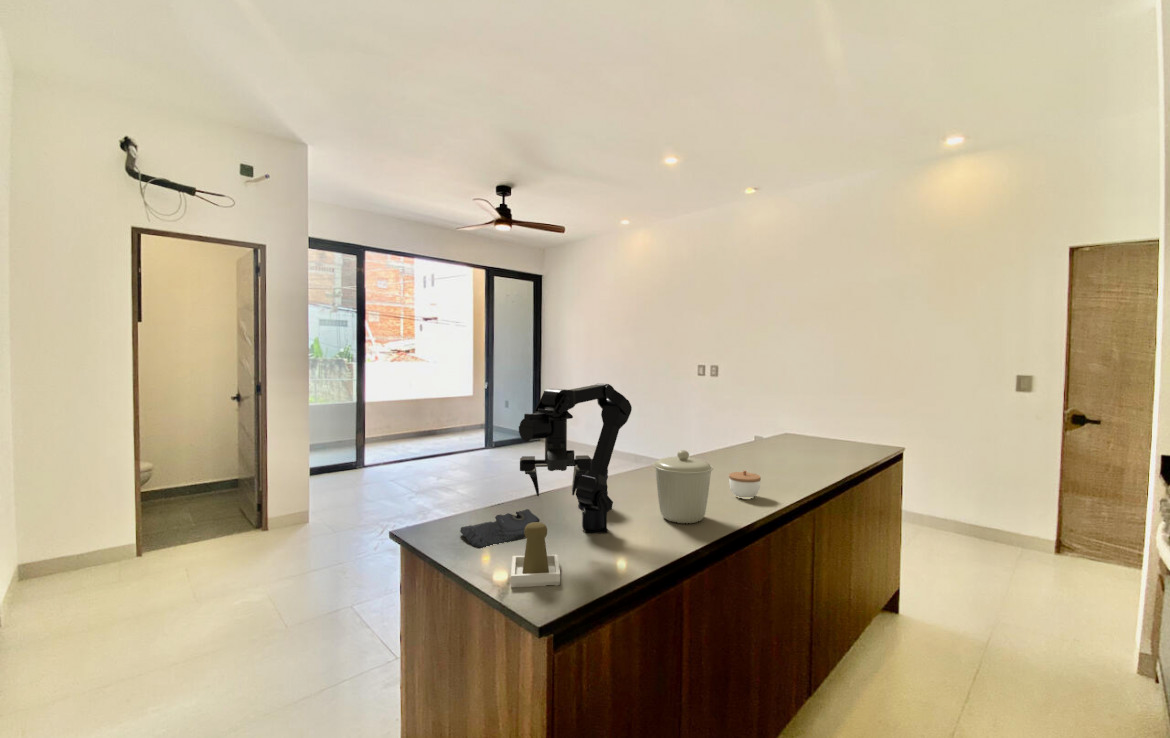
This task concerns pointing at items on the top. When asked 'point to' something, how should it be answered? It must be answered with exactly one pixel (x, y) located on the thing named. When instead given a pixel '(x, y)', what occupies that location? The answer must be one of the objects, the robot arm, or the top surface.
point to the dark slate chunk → (499, 529)
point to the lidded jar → (744, 484)
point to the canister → (683, 487)
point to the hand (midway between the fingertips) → (555, 495)
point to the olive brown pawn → (535, 549)
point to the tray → (535, 578)
